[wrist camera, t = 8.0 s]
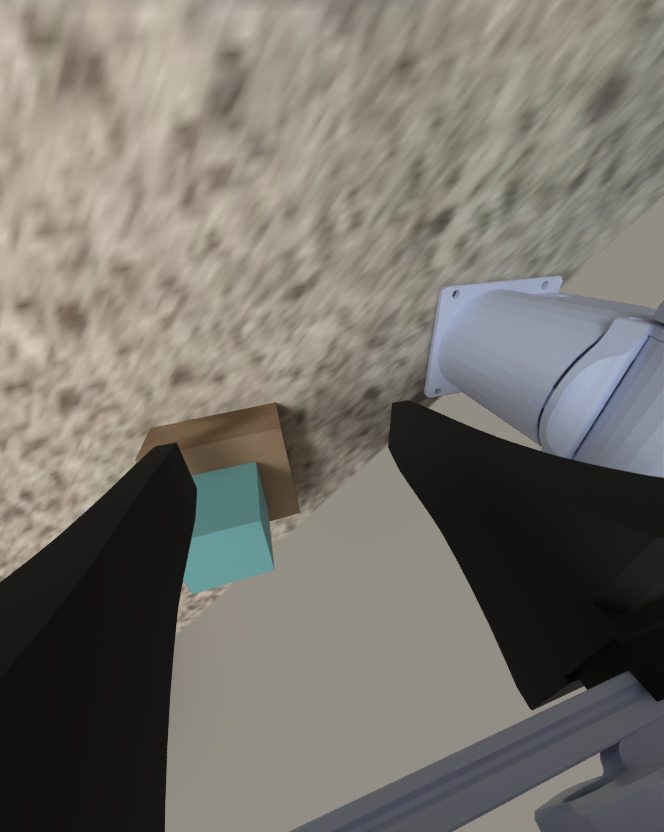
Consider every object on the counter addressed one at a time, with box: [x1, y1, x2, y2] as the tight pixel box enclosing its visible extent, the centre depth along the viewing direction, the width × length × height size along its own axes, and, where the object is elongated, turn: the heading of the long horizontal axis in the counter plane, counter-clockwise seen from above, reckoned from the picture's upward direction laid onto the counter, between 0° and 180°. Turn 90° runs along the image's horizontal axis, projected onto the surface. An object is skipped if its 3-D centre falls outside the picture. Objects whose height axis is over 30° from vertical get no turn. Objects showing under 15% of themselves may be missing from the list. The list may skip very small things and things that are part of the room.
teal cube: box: [183, 462, 274, 594], centre depth 16 cm, size 4×4×4 cm
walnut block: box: [135, 403, 300, 521], centre depth 19 cm, size 8×8×4 cm
